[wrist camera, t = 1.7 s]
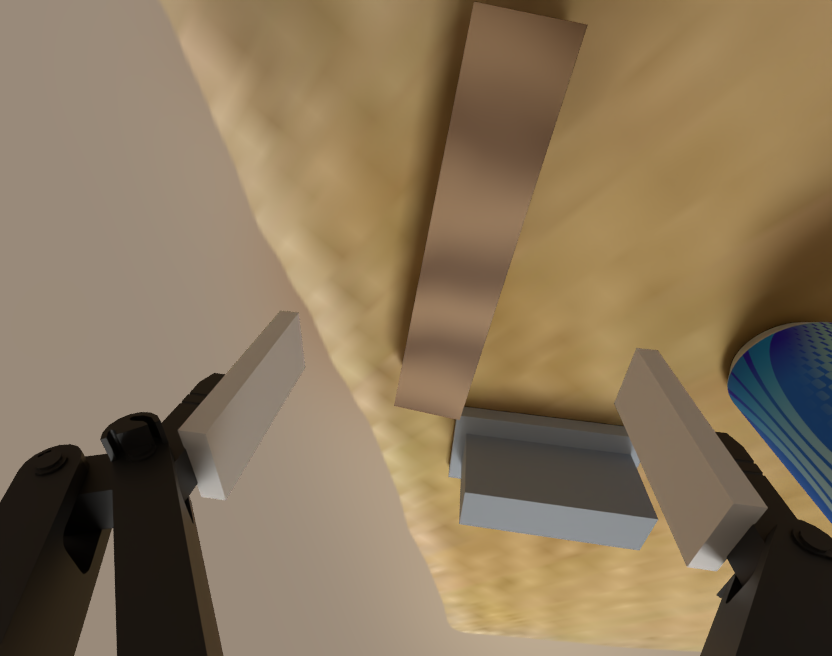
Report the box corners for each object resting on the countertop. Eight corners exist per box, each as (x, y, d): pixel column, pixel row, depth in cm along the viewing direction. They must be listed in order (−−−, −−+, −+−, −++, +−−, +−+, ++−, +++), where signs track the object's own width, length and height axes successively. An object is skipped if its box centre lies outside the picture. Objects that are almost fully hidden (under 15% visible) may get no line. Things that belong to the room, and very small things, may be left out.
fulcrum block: (457, 405, 35) (454, 472, 29) (646, 429, 34) (683, 504, 28) (449, 466, 40) (444, 536, 34) (616, 489, 38) (643, 566, 32)
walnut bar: (474, 17, 22) (473, 1, 17) (565, 36, 22) (587, 24, 17) (404, 365, 34) (394, 405, 30) (461, 378, 34) (459, 420, 30)
